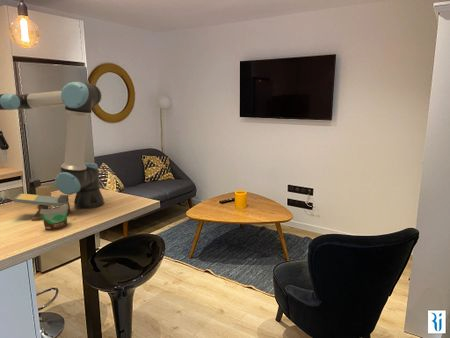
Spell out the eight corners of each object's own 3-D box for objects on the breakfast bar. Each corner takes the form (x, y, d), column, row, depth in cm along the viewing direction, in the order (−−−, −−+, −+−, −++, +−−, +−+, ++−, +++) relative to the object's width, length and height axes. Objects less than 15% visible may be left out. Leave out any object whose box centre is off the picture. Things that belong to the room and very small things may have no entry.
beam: (68, 201, 172) (69, 194, 172) (65, 207, 163) (66, 200, 162) (19, 196, 165) (20, 189, 165) (13, 202, 156) (14, 194, 155)
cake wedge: (50, 233, 143) (47, 211, 141) (42, 230, 146) (39, 209, 144) (76, 224, 153) (74, 203, 151) (67, 222, 157) (65, 201, 155)
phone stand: (26, 203, 186) (23, 182, 184) (32, 200, 192) (30, 179, 190) (42, 203, 186) (39, 182, 184) (48, 200, 192) (45, 179, 189)
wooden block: (52, 205, 182) (50, 185, 180) (47, 208, 177) (44, 188, 175) (43, 205, 182) (41, 185, 180) (37, 208, 177) (35, 188, 175)
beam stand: (70, 209, 175) (69, 197, 173) (66, 217, 162) (65, 205, 161) (38, 212, 170) (37, 200, 169) (32, 221, 158) (30, 207, 157)
